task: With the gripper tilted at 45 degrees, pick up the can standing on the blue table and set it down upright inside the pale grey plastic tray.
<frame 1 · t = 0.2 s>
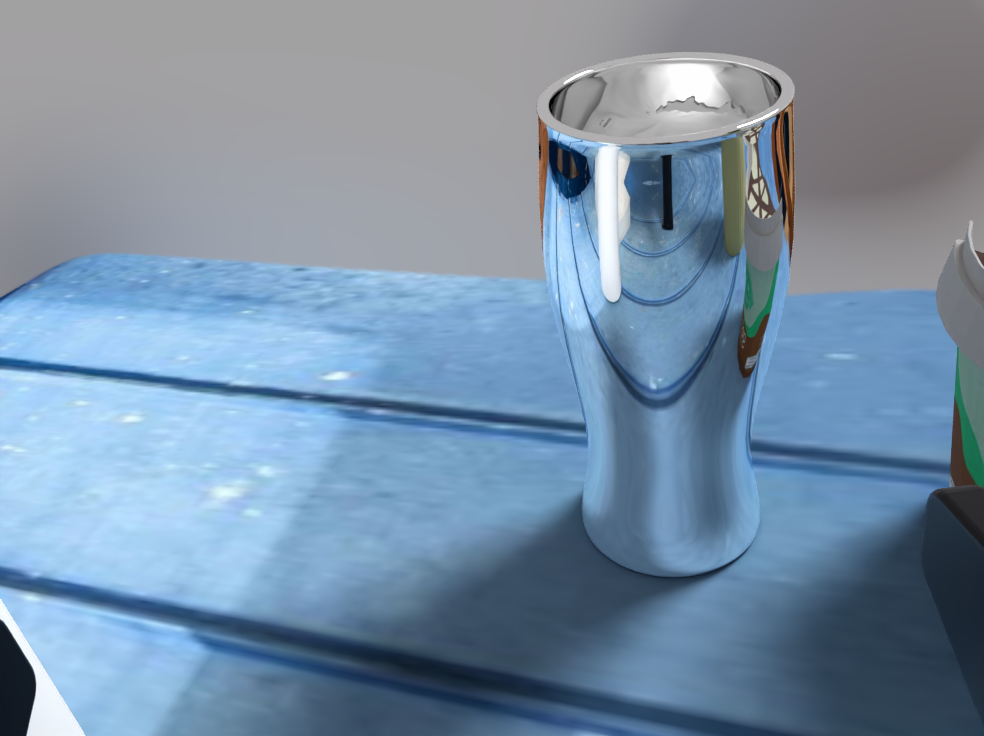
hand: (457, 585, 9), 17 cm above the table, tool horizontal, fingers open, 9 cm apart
beer glass: (669, 517, 33), on the table
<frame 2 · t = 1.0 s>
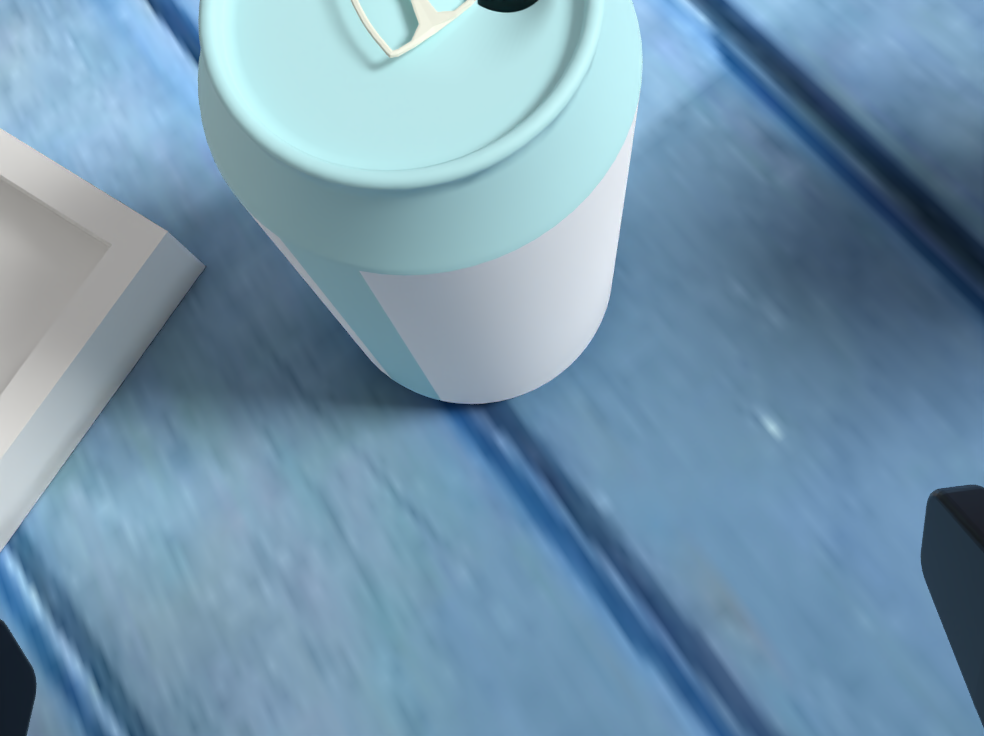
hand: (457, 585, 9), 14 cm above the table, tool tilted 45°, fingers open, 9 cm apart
can: (477, 280, 25), on the table
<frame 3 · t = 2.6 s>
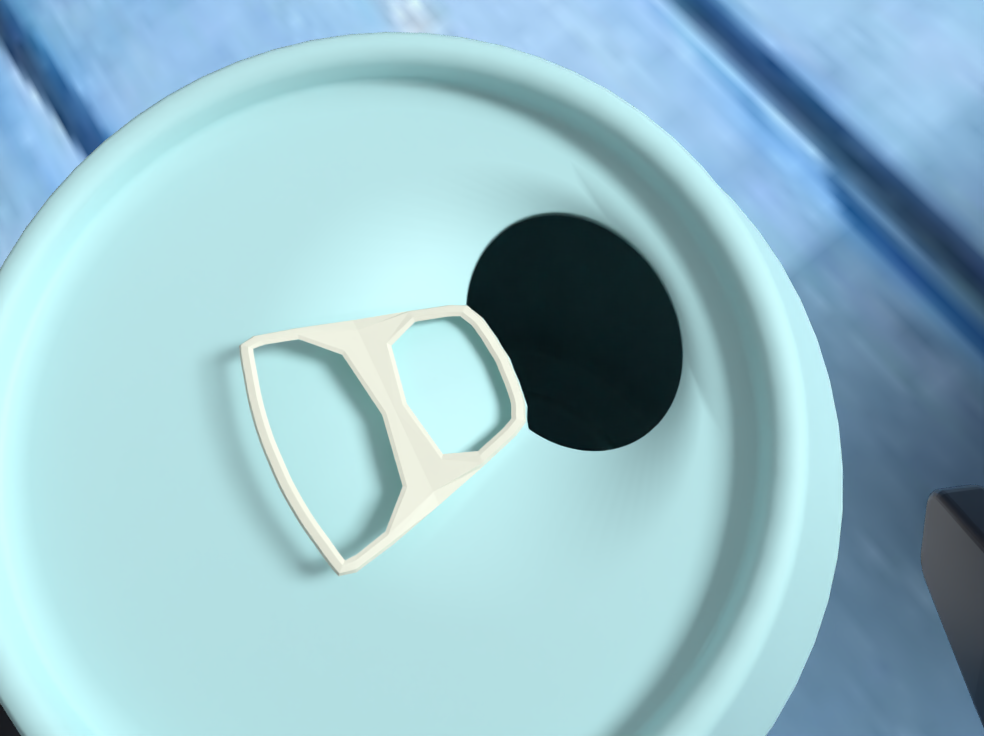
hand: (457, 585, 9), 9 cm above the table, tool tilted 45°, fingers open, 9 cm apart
can: (503, 527, 18), on the table
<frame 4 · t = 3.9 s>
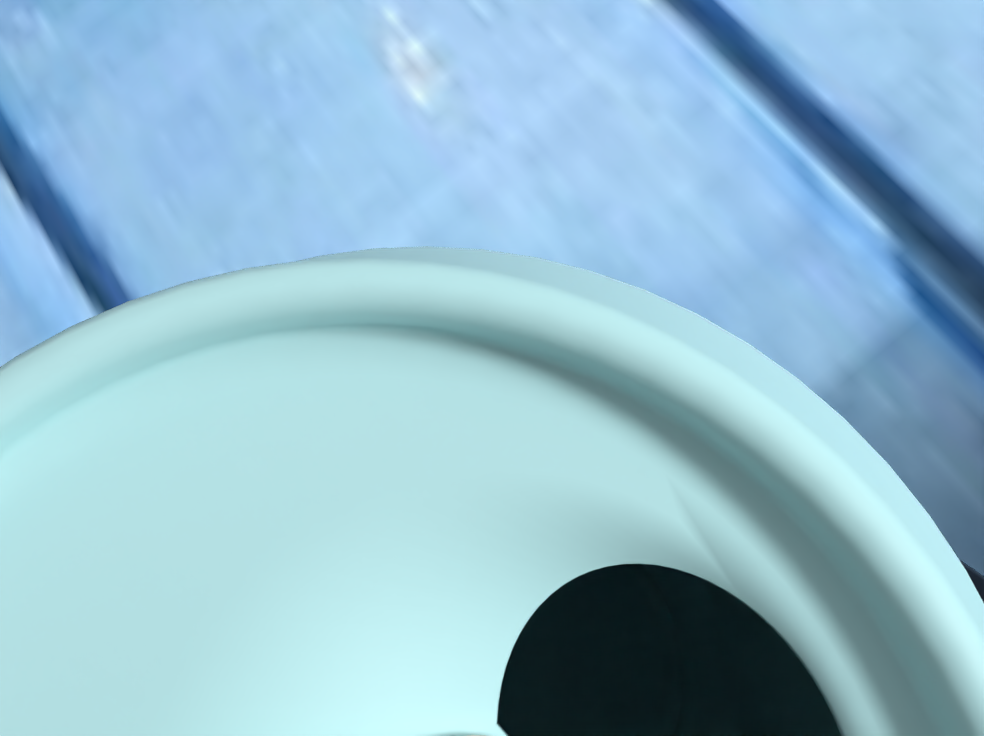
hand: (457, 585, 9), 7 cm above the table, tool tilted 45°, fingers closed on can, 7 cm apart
can: (517, 668, 15), on the table, touching gripper
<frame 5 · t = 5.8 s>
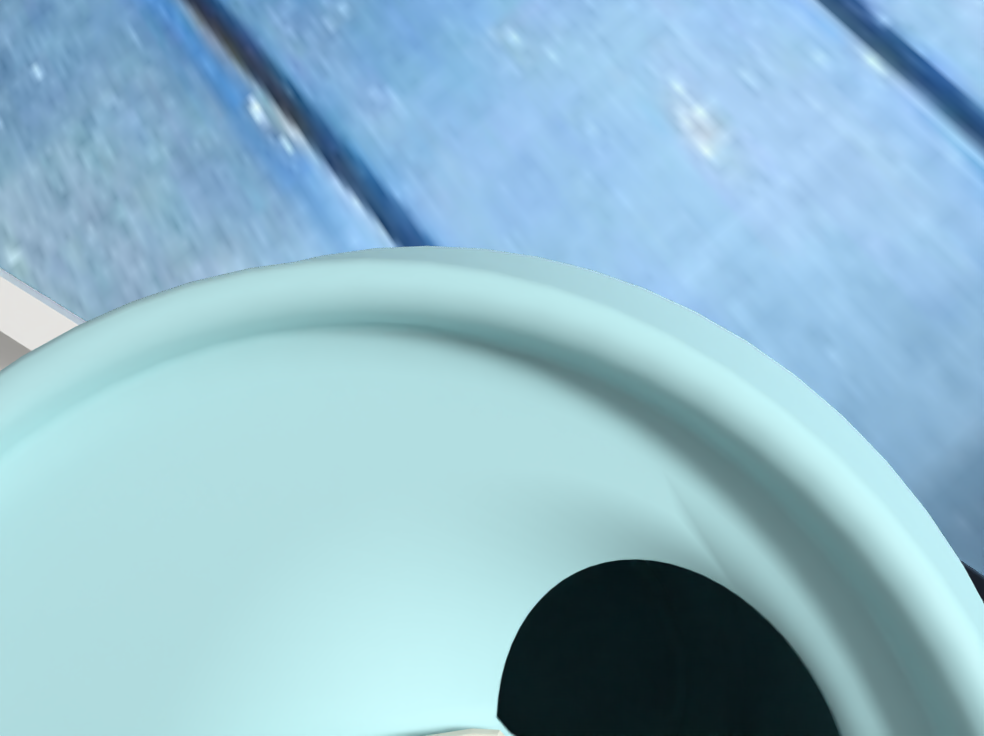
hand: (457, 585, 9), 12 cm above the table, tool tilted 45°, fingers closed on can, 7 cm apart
can: (521, 665, 15), point 5 cm above the table, touching gripper
when the fingers open (9 cm above the table, at t = 8.1 s): can drops 1 cm, resting on tray.
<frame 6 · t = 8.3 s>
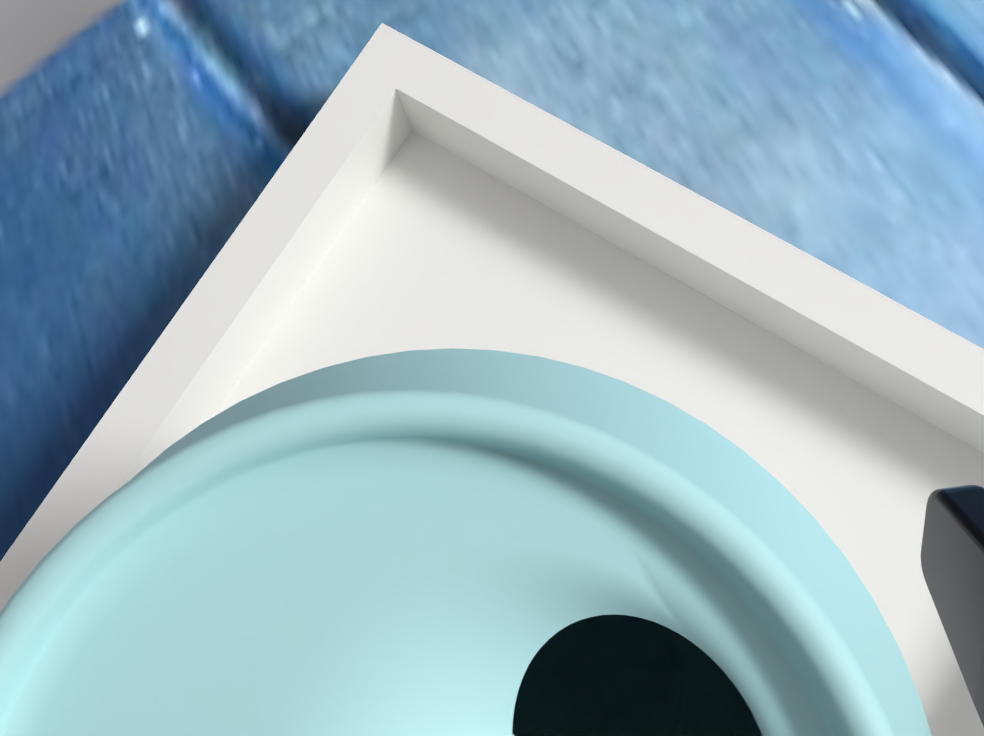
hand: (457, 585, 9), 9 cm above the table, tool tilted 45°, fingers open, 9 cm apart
can: (529, 669, 17), point 1 cm above the table, touching tray
tray: (527, 654, 17), on the table
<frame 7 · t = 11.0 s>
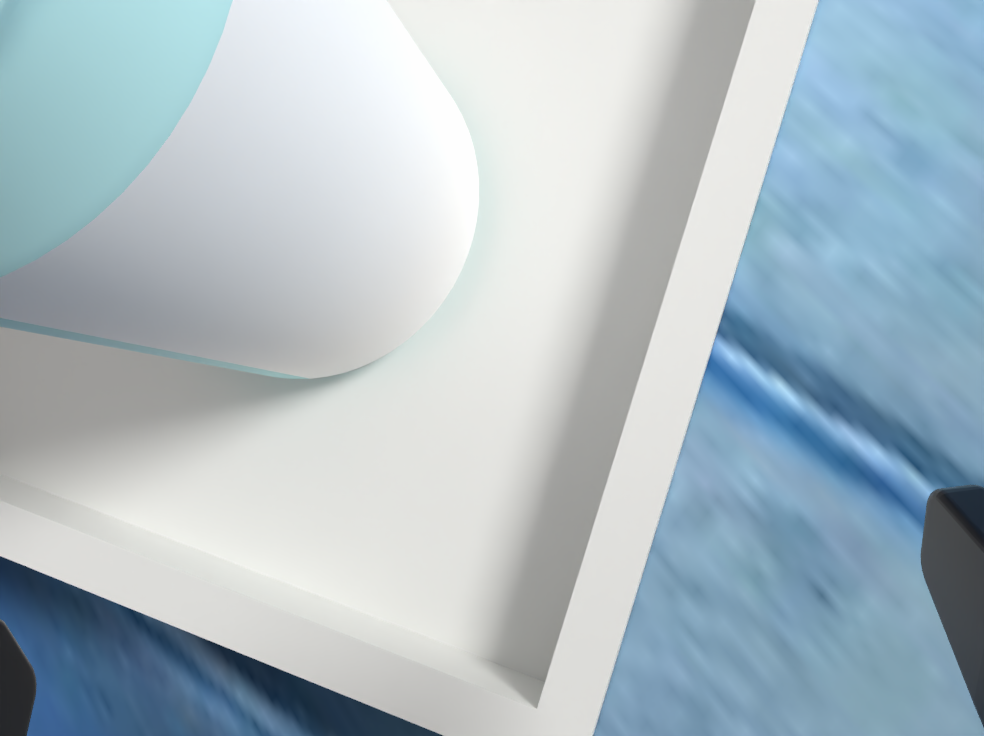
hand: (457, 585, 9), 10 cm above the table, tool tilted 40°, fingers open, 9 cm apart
can: (323, 213, 19), point 1 cm above the table, touching tray
tray: (329, 212, 20), on the table
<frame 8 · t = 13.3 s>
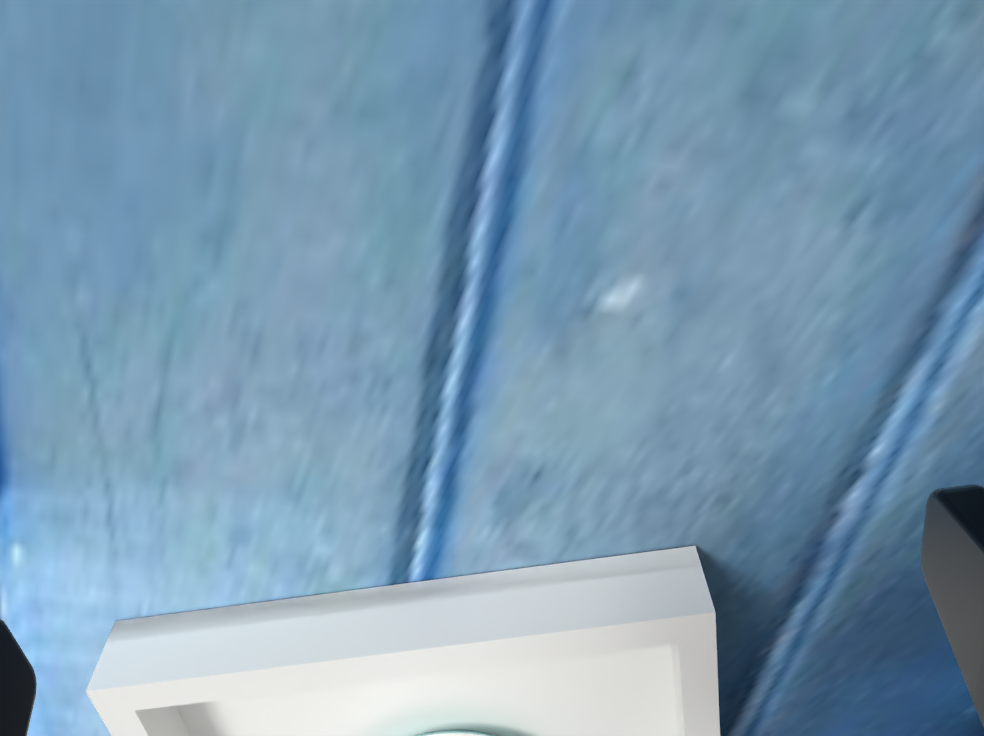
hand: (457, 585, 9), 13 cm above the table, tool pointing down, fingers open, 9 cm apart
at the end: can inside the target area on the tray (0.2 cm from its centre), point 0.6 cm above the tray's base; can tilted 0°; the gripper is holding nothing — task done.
